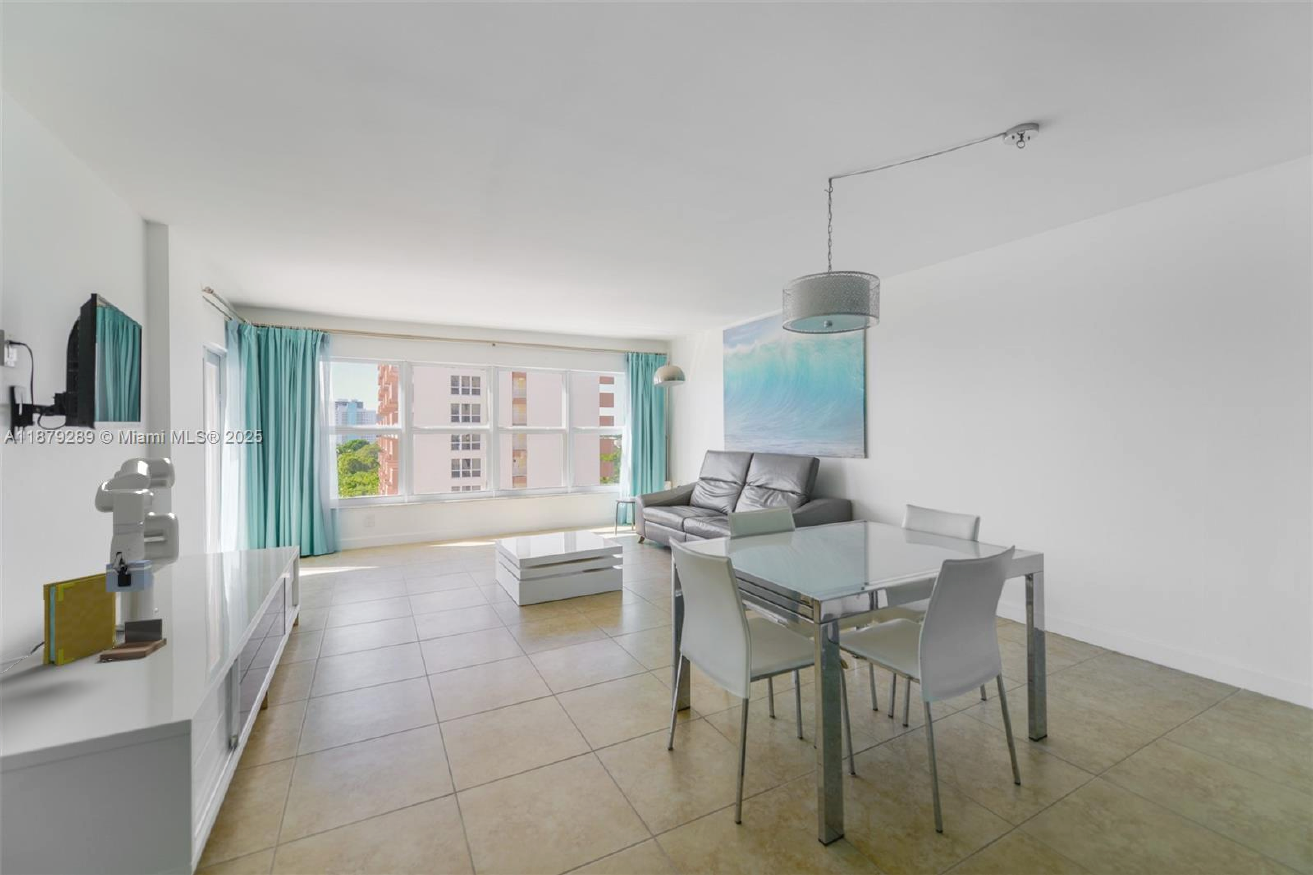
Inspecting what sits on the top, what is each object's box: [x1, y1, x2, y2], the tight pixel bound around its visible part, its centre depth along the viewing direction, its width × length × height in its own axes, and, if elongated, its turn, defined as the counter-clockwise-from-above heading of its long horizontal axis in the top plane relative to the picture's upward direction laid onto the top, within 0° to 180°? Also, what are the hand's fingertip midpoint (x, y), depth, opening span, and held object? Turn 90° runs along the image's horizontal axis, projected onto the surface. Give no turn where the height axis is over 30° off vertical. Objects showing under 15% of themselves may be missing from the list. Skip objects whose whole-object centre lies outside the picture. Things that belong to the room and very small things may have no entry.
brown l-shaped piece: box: [99, 618, 167, 662], centre depth 184 cm, size 12×12×9 cm
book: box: [42, 572, 117, 666], centre depth 183 cm, size 17×7×25 cm, turn 168°
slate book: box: [105, 560, 152, 593], centre depth 182 cm, size 4×10×9 cm, turn 107°
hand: (128, 584), depth 182 cm, fingers closed on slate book, 4 cm apart
